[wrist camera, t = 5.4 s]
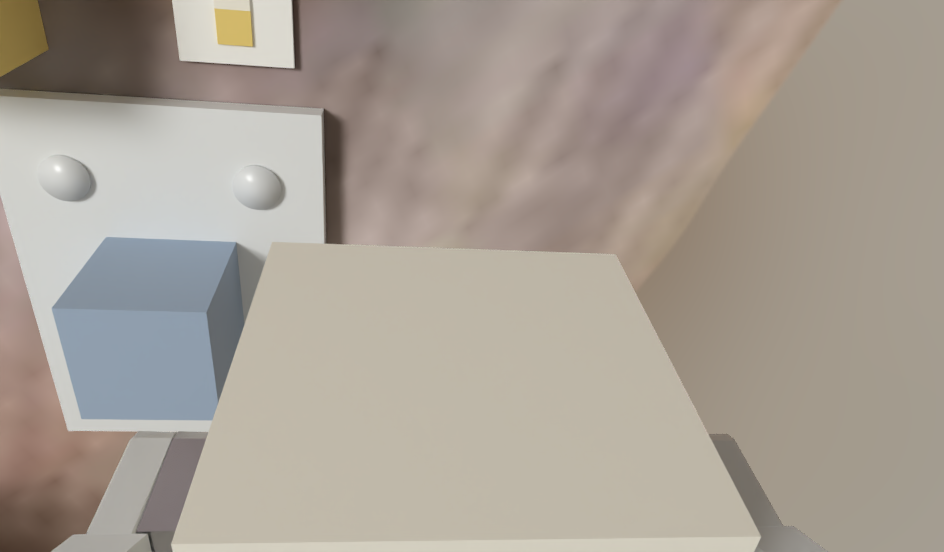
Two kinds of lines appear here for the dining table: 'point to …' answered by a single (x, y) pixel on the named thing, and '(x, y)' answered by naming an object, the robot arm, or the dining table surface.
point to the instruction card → (235, 32)
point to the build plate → (151, 193)
